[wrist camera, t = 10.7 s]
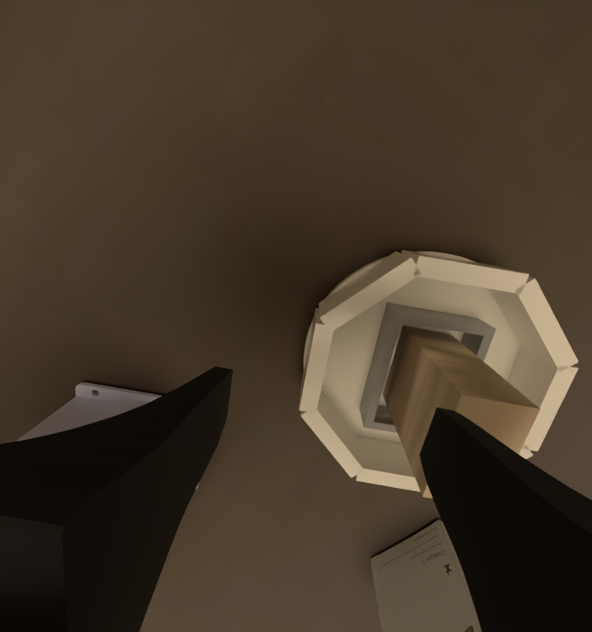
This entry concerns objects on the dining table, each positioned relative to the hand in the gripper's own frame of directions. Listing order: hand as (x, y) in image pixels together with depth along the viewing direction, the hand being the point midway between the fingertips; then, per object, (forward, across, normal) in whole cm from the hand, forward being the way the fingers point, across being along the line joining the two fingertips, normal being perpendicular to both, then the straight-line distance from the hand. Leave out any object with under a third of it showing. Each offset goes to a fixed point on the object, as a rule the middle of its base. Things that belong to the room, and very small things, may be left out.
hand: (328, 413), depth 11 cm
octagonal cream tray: (+10, -6, +1) cm, 12 cm away
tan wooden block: (+9, -6, +1) cm, 11 cm away
